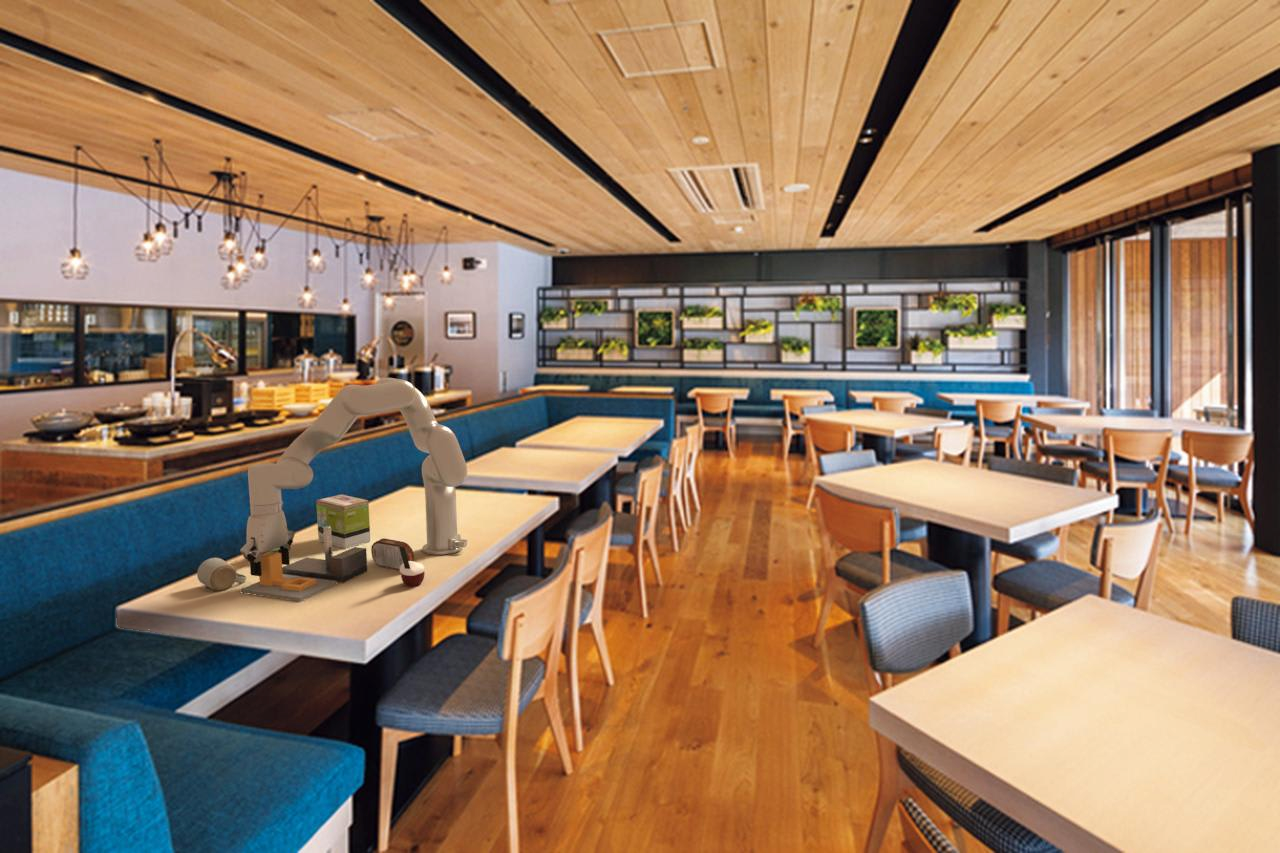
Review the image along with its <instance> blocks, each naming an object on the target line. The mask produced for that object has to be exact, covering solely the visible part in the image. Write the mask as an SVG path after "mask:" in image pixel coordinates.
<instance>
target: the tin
mask: <svg viewBox="0 0 1280 853" xmlns="http://www.w3.org/2000/svg"><path fill="white" fill-rule="evenodd" d="M370 547H371V558H372V561H373V562H374V563H375V564H376V565H377V566H379V567H381V568H385V567H386V568H387V569H391V570H396V571H400V566H401V565H402V564H403V560H402V556H401V552H400V549H399V547H404V548H405V550H406V554H407V558H408V561H414V562H415V552H414V550H413V548H412V547H411V546H410V545H409V544H408V543H407V542H405V541H400V540H395V539H389V538H380V539H379V540H376V541H375V542H373V543H372V545H371V546H370Z"/></svg>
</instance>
